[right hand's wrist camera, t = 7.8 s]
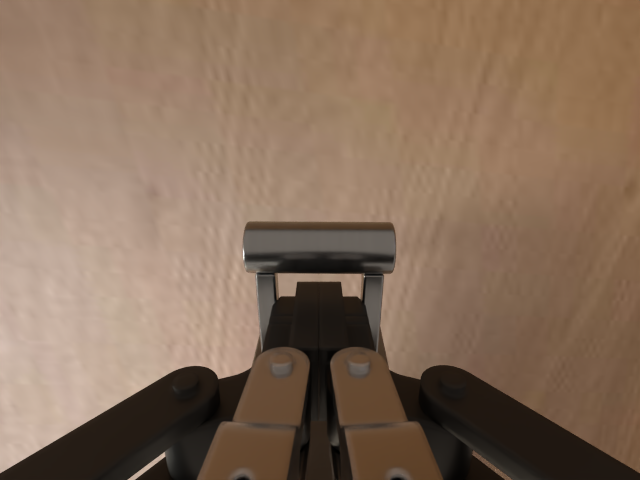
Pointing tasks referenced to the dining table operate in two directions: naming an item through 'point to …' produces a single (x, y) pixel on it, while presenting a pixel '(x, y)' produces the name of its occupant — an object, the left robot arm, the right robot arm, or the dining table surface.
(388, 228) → the drawer
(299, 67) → the dining table surface
